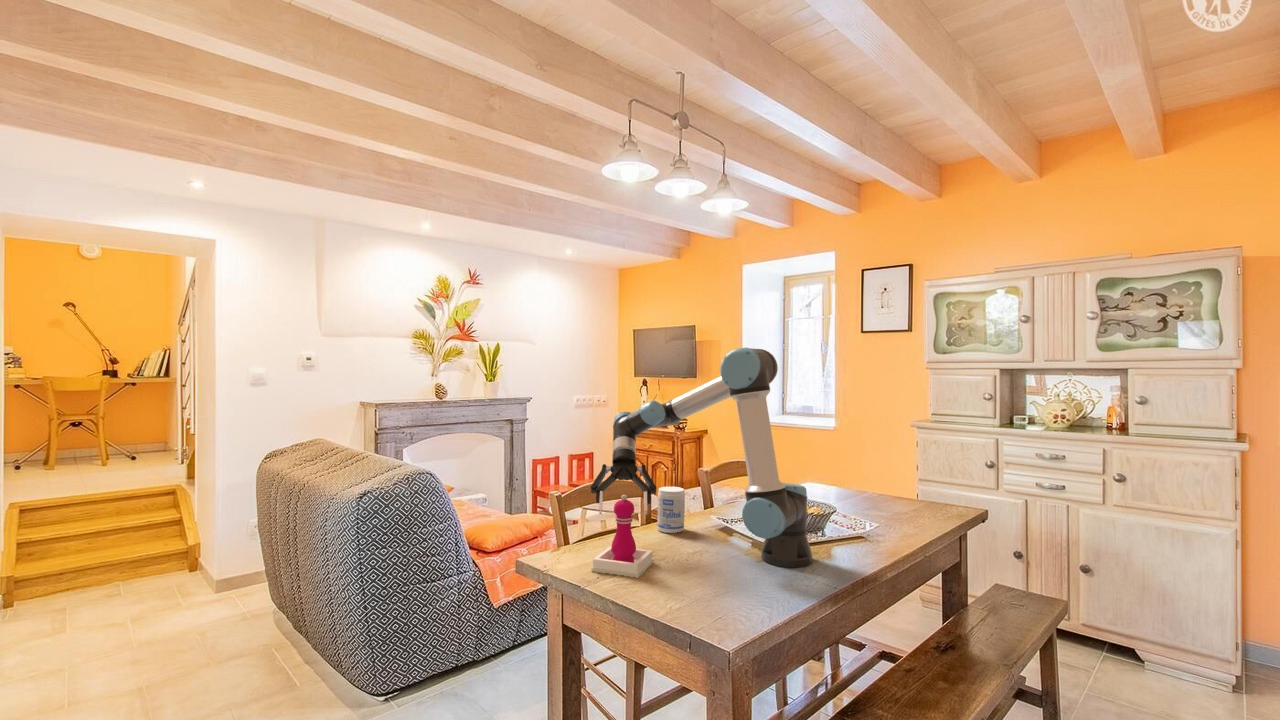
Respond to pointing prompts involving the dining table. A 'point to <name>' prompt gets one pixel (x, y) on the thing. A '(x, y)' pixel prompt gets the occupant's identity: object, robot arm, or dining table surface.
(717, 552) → the dining table surface
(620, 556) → the pepper mill
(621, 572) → the ceramic tray
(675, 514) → the supplement tub
